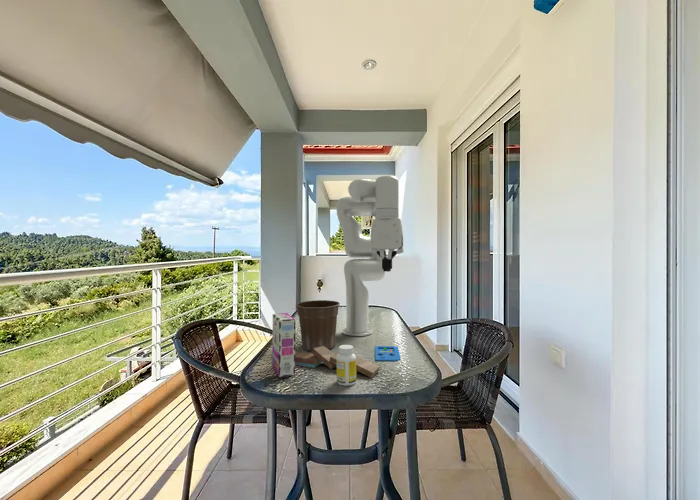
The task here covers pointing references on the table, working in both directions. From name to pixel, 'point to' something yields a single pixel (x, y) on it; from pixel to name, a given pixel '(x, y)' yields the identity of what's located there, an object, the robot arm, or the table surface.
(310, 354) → the walnut domino
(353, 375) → the supplement bottle
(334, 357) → the walnut domino
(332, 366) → the walnut domino
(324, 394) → the table surface
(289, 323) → the candy bar box
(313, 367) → the domino teal end
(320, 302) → the plant pot
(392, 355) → the handheld gaming device
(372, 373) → the walnut domino
